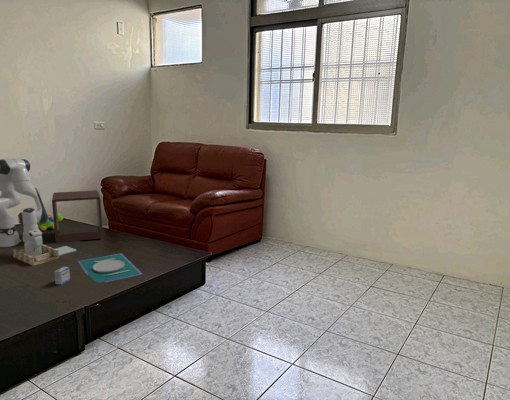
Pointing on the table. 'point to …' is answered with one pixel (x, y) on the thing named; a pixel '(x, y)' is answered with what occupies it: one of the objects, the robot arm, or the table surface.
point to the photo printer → (32, 250)
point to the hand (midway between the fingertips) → (33, 249)
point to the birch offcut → (42, 257)
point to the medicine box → (62, 275)
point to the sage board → (65, 250)
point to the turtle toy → (49, 222)
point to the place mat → (109, 268)
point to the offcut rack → (30, 259)
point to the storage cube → (82, 232)
